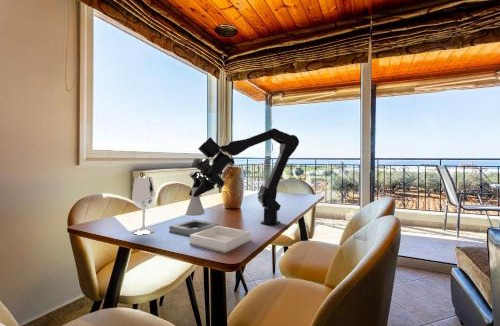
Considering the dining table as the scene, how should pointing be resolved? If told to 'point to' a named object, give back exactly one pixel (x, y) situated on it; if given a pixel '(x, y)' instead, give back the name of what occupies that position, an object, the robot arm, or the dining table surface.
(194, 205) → the flask
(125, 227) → the dining table surface
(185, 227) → the holder
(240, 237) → the tray
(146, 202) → the wineglass
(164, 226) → the dining table surface
